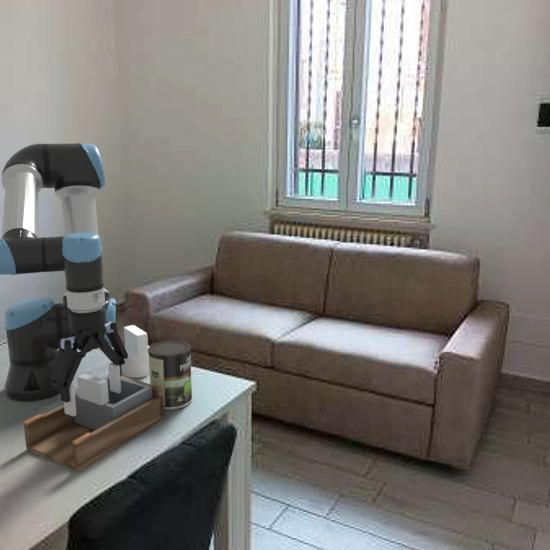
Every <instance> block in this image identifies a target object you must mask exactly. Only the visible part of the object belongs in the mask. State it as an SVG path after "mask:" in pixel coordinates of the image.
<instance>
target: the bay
mask: <svg viewBox="0 0 550 550" xmlns="http://www.w3.org/2000/svg"><path fill="white" fill-rule="evenodd" d="M121 378H124V379H127V380H131V381H134V382H137V383H141V384H144V385H147V386H151V387H152V394H153V398H152V399H151V400H149V401H147V402H145V403H144V404H142V405H140V406H138V407H136V408H135V409H133V410H131V411H129V412H127V413H126V414H124V415H122V416H120V417H118V418H117V419H115V420H113V421H111V422H110V423H108V424H106V425H104V426H102V427H101V428H99V429H97V430H93V429H91V428H88V427H85V426H83V425H80V424H77V423H75V421H74V417H73V416H71V415H68V414H65V410H64V404H61V405H60V406H58V407H56V408H53V409H51V410H49V411H48V412H45V413H43V414H37V415H35V416H33V417H31V418H28V419H27V420H24V421H23V429H24V430H23V431H24V439H25V447H26V450H27V451H29V452H31V453H34V454H35V455H39V456H40V457H43V458H45V459H48V460H50V461H52V462H54V463H57V464H59V465H61V466H64V467H66V468H68V469H71V470H73V471H75V472H78V473H80V472H82V471H84V470H85V469H86V468H88V467H90V466H91V465H93V464H94V463H95V464H96V462H98V461H99V460H101V459H103V458H105V457H106V456H108V455H109V454H111V453H113V452H114V451H115V450H117V449H119V448H120V447H122V446H124V445H126V444H127V443H129V442H130V441H132V440H133V439H135V438H137V437H138V436H140V435H142V434H143V433H146V431H148V430H150V429H152V428H153V427H155V426H156V425H158V424H160V423H161V422H162V420H163V421H165V413H164V412H165V410H164V407H163V388H161V387H157V386H154V385H151V384H150V383H147V382H143V381H141V380H137V379H135V378H131V377H126V376H123V375H121ZM159 422H160V423H159ZM154 425H155V426H154Z"/></svg>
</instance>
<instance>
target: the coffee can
mask: <svg viewBox="0 0 550 550" xmlns="http://www.w3.org/2000/svg"><path fill="white" fill-rule="evenodd" d="M149 346H150V347H149V348H148V353H149V368H150V375H149V381H150V382H149V384H151V385H154V386H157V387H161V388H163V407H164V411H166V410H167V411H170V410H171V411H172V410H173V411H174V410H179V409H183V408H184V407H187V406H189V405H190V404H191V403H192V402H193V395H192V394H193V391H192V385H193V384H192V357H191V352H192V351H191V350H192V346H191V344H190V343H188V342H185V341H181V340H164V341H163V340H162V341H159V342H155V343H153V344H151V345H149Z"/></svg>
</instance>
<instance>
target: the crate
mask: <svg viewBox="0 0 550 550" xmlns="http://www.w3.org/2000/svg"><path fill="white" fill-rule="evenodd" d="M120 381H121V393H116V392H113V391H110V381H109V376H106V377H105V378H101V377H98V376H94V375H91V374H87V373H82V374H80V375H78V376H77V388H78V389H77V391H74V392H75V403H76V416H74V421H75V423H77V424H80V425H83V426H85V427H88V428H91V429H93V430H97V429H99V428H101V427H102V426H104V425H106V424H108V423H110V422H111V421H113V420H115V419H117V418H118V417H120V416H122V415H124V414H126V413H127V412H129V411H131V410H133V409H135V408H136V407H138V406H140V405H142V404H144V403H145V402H147V401H149V400H151V399H152V398H153V394H152V387H151V386H147V385H144V384H141V383H137V382H134V381H131V380H127V379H124V378H121V377H120Z"/></svg>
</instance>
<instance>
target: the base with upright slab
mask: <svg viewBox="0 0 550 550" xmlns="http://www.w3.org/2000/svg"><path fill="white" fill-rule="evenodd" d="M123 332H124V334H123V335H124V347H125V349H126V351H127V354H128V358H127V359H124V360H125V364H124V365H121V369H122V375H121V376H124V377H127V378H131V379H135V378H144V377H147V376H150V368H149V353H148V348H149V347H150V346H151V345H149V344H148V343H149V342H148V341H149V338H148V337H149V336H148V333H147V332H146V331H144V330H143V329H141V328H139V327H137V326H136V325H135V324H132V325H127V326H124V327H123Z"/></svg>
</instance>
